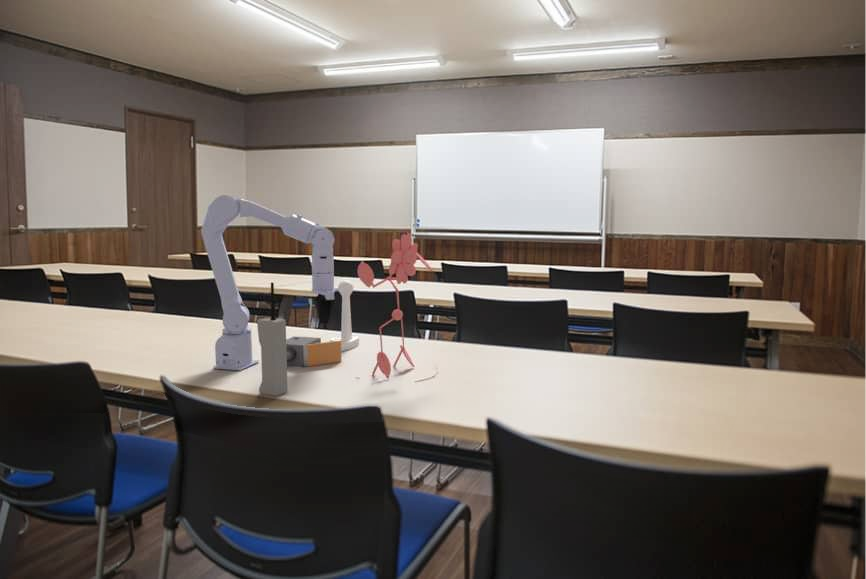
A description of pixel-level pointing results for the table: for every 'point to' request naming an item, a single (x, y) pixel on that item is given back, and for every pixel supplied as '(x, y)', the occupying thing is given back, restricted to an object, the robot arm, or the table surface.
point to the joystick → (346, 318)
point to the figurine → (403, 267)
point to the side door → (322, 353)
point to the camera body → (298, 349)
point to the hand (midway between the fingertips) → (324, 323)
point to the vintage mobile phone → (273, 353)
